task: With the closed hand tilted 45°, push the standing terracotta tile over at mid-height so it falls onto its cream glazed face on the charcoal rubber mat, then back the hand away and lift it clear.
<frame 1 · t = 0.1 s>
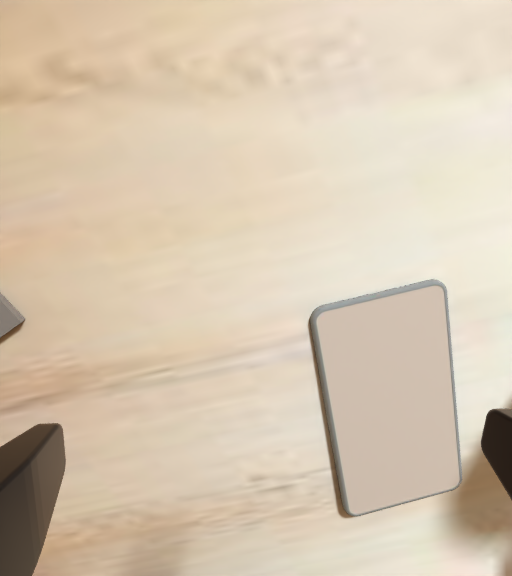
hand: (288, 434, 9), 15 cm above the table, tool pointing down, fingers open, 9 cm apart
smartphone: (386, 398, 27), on the table
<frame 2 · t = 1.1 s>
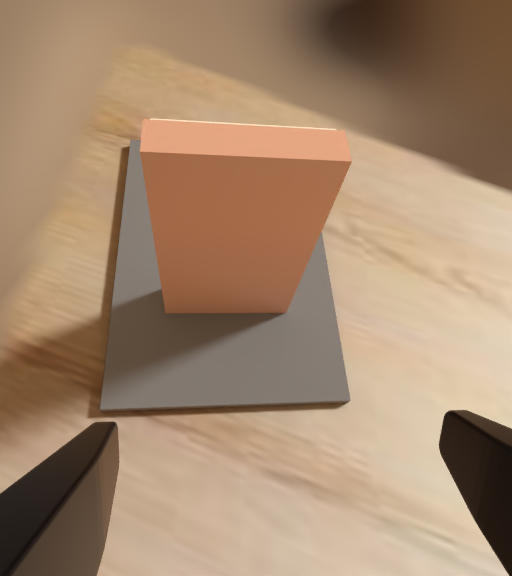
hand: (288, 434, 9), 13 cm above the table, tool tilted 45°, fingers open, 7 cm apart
rubber mat: (224, 256, 27), on the table
terracotta tile: (226, 301, 24), resting on rubber mat
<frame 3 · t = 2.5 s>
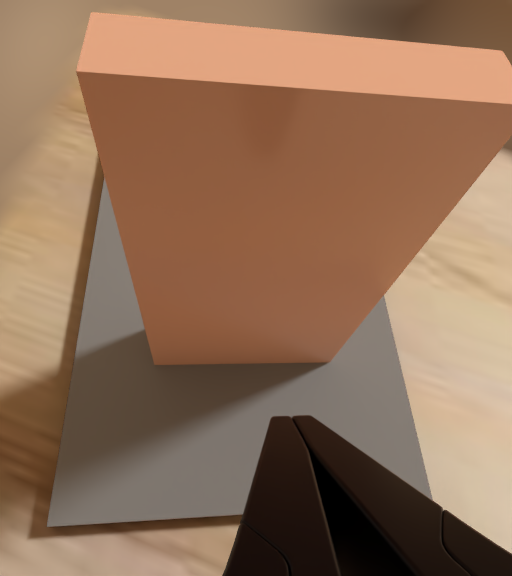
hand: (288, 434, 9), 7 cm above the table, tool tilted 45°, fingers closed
rubber mat: (239, 278, 19), on the table
terracotta tile: (243, 345, 17), resting on rubber mat
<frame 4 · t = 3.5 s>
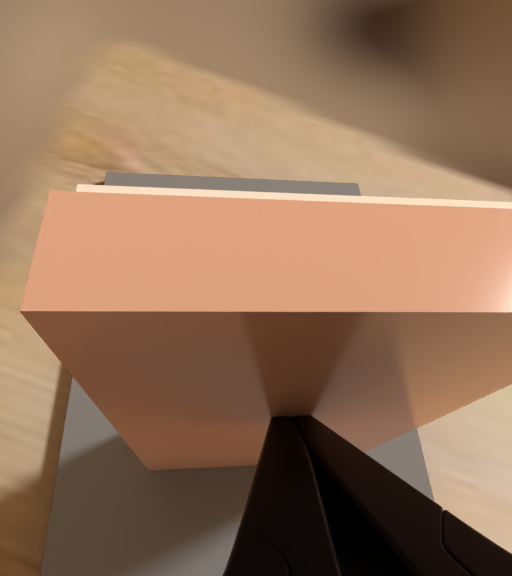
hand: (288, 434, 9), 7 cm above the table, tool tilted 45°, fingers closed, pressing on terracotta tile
rubber mat: (244, 356, 17), on the table
terracotta tile: (249, 443, 15), point 1 cm above the table, touching gripper, rubber mat
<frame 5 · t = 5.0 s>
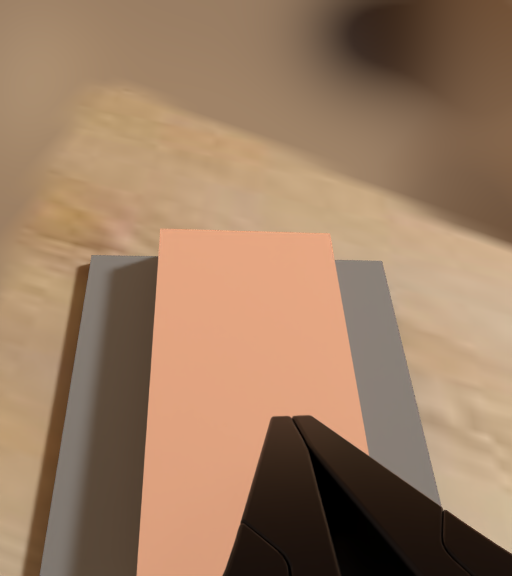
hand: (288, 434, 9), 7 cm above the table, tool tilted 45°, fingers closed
rubber mat: (253, 496, 14), on the table
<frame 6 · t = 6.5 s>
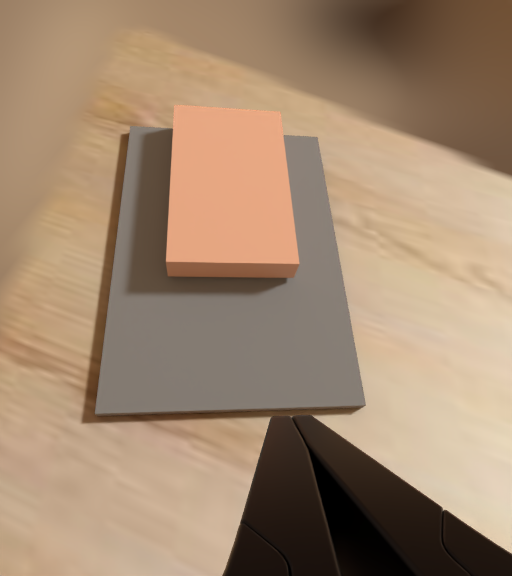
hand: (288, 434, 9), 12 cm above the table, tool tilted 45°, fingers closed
rubber mat: (230, 249, 25), on the table
terracotta tile: (233, 270, 22), point 2 cm above the table, tilted 90°, touching rubber mat
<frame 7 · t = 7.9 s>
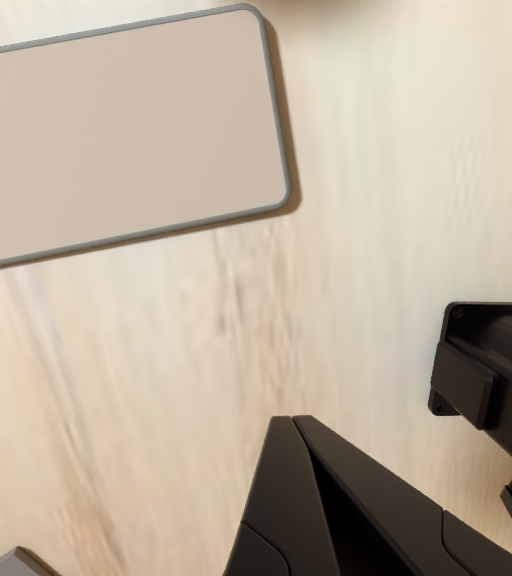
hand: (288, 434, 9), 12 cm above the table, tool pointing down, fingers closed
smartphone: (109, 144, 18), on the table
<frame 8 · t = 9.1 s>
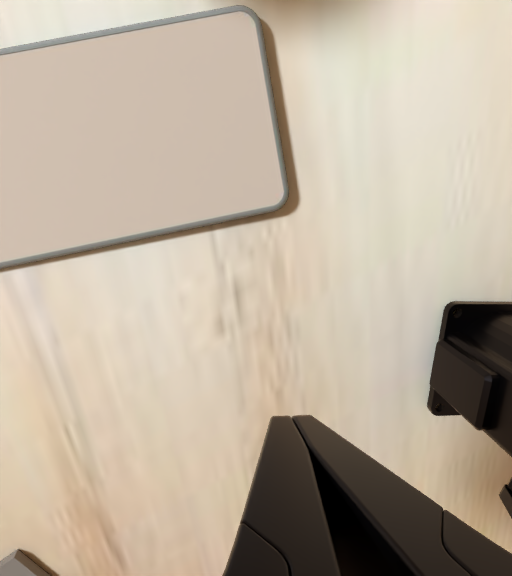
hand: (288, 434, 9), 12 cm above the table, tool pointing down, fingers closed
smartphone: (106, 147, 18), on the table
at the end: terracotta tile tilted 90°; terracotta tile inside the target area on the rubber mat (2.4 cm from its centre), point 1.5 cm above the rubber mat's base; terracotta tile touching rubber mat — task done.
